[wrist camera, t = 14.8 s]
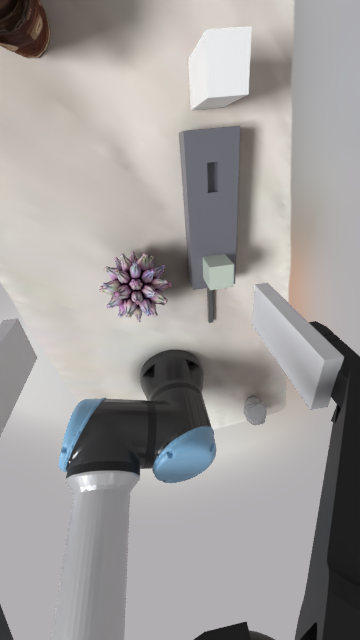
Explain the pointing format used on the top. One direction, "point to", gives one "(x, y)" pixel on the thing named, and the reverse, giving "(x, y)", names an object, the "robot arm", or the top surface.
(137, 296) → the flower
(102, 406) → the robot arm
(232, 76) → the white rectangular block
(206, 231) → the power strip
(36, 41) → the coffee cup
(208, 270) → the block
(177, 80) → the top surface
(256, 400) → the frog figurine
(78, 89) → the top surface
